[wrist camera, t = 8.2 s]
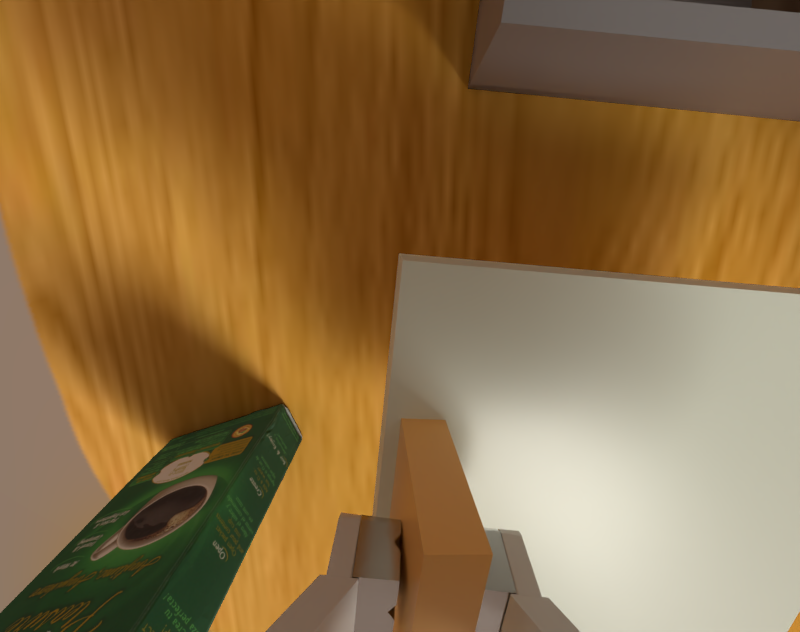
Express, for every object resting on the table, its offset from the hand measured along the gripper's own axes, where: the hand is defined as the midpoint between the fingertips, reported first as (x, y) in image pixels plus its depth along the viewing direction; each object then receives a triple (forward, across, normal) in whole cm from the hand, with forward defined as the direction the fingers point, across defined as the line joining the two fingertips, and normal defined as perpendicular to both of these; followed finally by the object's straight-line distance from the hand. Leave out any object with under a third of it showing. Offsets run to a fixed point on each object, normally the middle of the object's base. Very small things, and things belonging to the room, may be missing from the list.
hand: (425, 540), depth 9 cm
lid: (+3, -7, 0) cm, 8 cm away
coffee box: (+12, +10, +7) cm, 17 cm away
